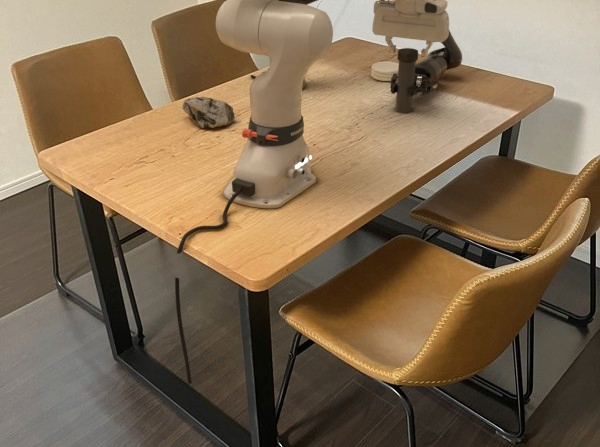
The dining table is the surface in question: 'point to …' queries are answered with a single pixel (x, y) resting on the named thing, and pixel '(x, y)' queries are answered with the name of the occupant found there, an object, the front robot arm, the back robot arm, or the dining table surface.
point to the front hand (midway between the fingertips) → (408, 54)
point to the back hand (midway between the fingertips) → (401, 92)
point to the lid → (407, 55)
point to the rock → (208, 112)
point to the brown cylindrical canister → (405, 86)
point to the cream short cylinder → (384, 70)
